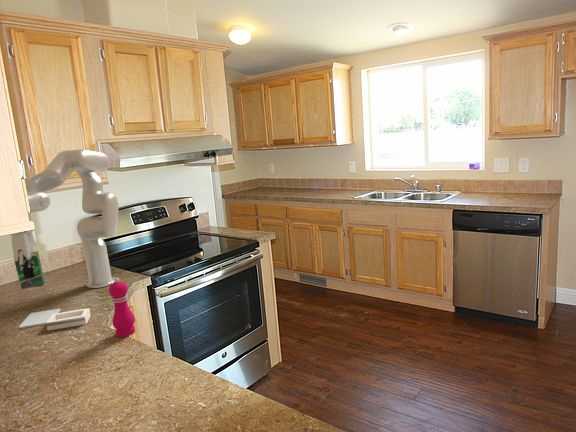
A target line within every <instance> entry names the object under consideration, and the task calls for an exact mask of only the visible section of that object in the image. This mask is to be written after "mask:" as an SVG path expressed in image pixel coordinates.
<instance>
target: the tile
mask: <svg viewBox="0 0 576 432" xmlns="http://www.w3.org/2000/svg"><path fill="white" fill-rule="evenodd" d="M56 313H61V308H54V309H47V310H42V311H35V312H31V313H29V315H27V316H26V318H25V319H24V320H23V321H22V322H21V323H20V325H19V326H18V329H20V330H21V329H26V328H32V327H38V326H44V325H45V324H46V322H47V321H48V320H49V318H50V317H51V315H52V314H56Z"/></svg>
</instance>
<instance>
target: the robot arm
mask: <svg viewBox="0 0 576 432" xmlns="http://www.w3.org/2000/svg"><path fill="white" fill-rule="evenodd" d="M110 164H111V161H110V158H109V156H108V155H107V154H105V153H104V152H102V151H95V150H88V149H80V148H79V149H69V150H67V149H66V150H62V151H61V152H58V154H57V155H56V156H55V157H54V158H53V159H52V160H51V162H50V163H49V164H48V165H47V166H46V167H45V168H44V170H43V171H40V172H39V173H37V174H35V175H34V176H32V177H31V178H29V179H26V180H25V181H26V188H27V194H28V201H29V206H30V213H29V220H30V221H32V217H31V213H36V212H42V211H46V210H47V209H48V208H49V206H50V205H51V199H50V196H49V195H48V194H47V193H46V192H48V191H51V190H54V189H56V188H58V187H61V186H63V184H64V183H65V182H66V181H67V179H68V178H69V177H70V175H72V173H73V172H74V171H75V173H77V174H78V176H79V177H80V179H81V182H82V195H81V196H82V198H81V199H82V200H81V208H82V211H83V212H84V213H85V214H88V215H102V216H87V217H83V218H82V219H80V220H79V221H78V223H77V225H76V230H77V233H78V236H79V238H80V242H81V244H82V249H83V253H84V254H83V255H84V260H85V264H86V270H87V274H88V275H87V276H88V280H89V281H88V282H87V283H86V288H88V289H99V288H104V287H108V286H110V285H111V284H113V283H115V282H114V279H115V278H116V277H114V276H112V272H111V265H110V260H109V255H108V248H107V245H106V242H105V241H104V238H105V239H106V238H107V239H108V238H112V237H114V236H115V235H116V234H117V232H118V227H119V201H118V198H117V196H116V195H115V194H114V193H112V192H104V183H103V180H102V178H101V177H100V175H99V174H98V173H103V172H106V171H107V170H109V168H110V167H111V166H110ZM33 232H34V229H33V230H30V231H24V232H19V233H15V234H10V233H9V234H10V235H9V236H11V247H12V254H13V260H15V261H16V262H18V261H19V264H20V265H22V269H23V273H24V278H25V279H27V278H33V277H34V272H33V267H31V262H30V259H31V258H32V253H33V252H36V251H37V246H36V242H35V238H34V237H35V236H34V234H33ZM24 258H26V259H27V260H24ZM15 261H14V262H15ZM26 261H28V263H27V262H26Z"/></svg>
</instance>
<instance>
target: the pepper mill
mask: <svg viewBox="0 0 576 432" xmlns="http://www.w3.org/2000/svg"><path fill="white" fill-rule="evenodd" d="M128 291H129V287H128V285H127V283H125V282H124V281H120V278H118V277H115V279H114V283H113V284H111V285H109V287H108V293H109V295H110V296H111V301H112V303H113V304H114V312H113V317H112V327H113V328H115V336H117V338H126V337H130V336H132V335H134V333H136V326H135V325H134V324H135V323H136V317H135V315H134V313H133V312H132V310H131V309H130V306H129V305H128V299H129V297H128Z"/></svg>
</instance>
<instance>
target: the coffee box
mask: <svg viewBox="0 0 576 432" xmlns="http://www.w3.org/2000/svg"><path fill="white" fill-rule="evenodd" d="M13 260H14V259H13ZM24 260H27V259H26V258H24ZM26 262H27V263H28V261H26ZM30 262H31V267H33V272H34V277H33V278H27V279H25V278H24V273H23V269H22V265H20V264H19V261H18V262H16V261H15V260H14V265H15V270H16V272H17V277H18V282H19V285H20V288H21V290H25V289H30V288H35V287H43V286H45V285H46V281H45V277H44V272H43V267H42V263H41V259H40V254H39V250H38V251H37V250H36V252H33V253H32V258H31V259H30Z"/></svg>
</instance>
